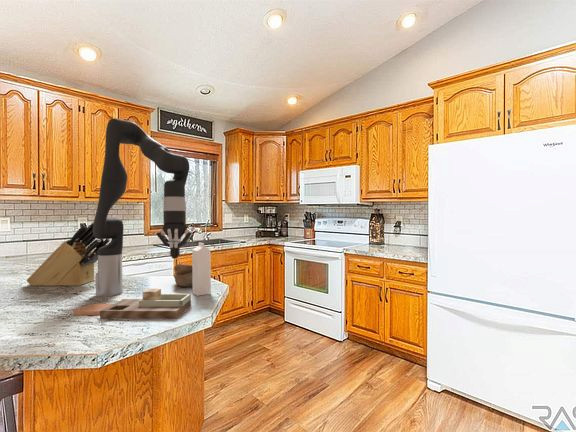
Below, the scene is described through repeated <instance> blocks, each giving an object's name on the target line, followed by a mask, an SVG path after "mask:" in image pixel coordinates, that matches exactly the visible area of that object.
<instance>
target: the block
mask: <svg viewBox="0 0 576 432" xmlns="http://www.w3.org/2000/svg"><path fill="white" fill-rule="evenodd" d="M161 294H162V289H161V288H148V289H145V290H144V291H142V299H143V300H161Z"/></svg>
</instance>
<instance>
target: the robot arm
mask: <svg viewBox="0 0 576 432" xmlns="http://www.w3.org/2000/svg"><path fill="white" fill-rule="evenodd" d="M105 130H106V131H105V147H104V160H103V167H102V172H101V173H102V174H101V177H100V185H99V186H100V187H99V196H98V202H97V203H98V204H97V208H96V212H95V216H94V220H93V222H94V224H93V235H94V237H95V238H96V239H95V240H97V239H98V240H100V239H103V240H106V239H110V241H109V242H108V243H107V244H106V245H105V246H103V247H101V248H99V249H98V260H97V272H95V296H98V297H110V296H111V297H112V296H116V295H117V296H118V295H122V293H123V290H124V289H123V247H124V243H123V242H124V221H123V220H122V218H121V217H108V215H109V213H110V210H112V208H113V206H114V205H115V204H116V203H117V202H118V201H119V200H120V199H121V198H122V197H123V195H124V194H125V192H126V189H127V184H128V183H127V182H128V173H127V170H126V169H125V166H124V164H123V162H122V160H121V157H120V146H121V145H120V144H122V145H134V146H136V147H139V149H140V151H141V154H143V156H144V157H146V158H147V159H149V160H150V161H151V162H153V163H154V164H155V166H156V167H157V168H158V170H160V171H162V172H163V173H166V174H173V177H172V179H170V180H166V181H164V184H163V204H162V205H163V226H162V229H161V230H160V231H158V232H156V236H157V237H158V239H159V240H160V242H162V244H163V245H164V246H165V247H169V250H170V251H169V253H170V257H171V259H179V257H180V254H181V253H180V251H181V249H180V248H181V247H183V246H185V245H186V244H187V242H188V241H189V240H190V239H191V237H192V236H193V235H194V233H193V231H190V230H189V229H188V227H187V224H186V223H187V204H186V203H187V202H186V183H187V181H188V180H187V179H188V175H189V171H190V163H189V162H190V161H189V160H188V158H187V157H186V156H184V155H181V154H177V153H172V152H170V149H168V148H167V146H165V145H163V144H161V143H160V142H159V141H156V140H154V139H153V138H152V137H151V136H149V135H148V134H147V133H146V132H145V130H144V129H143V128H141V126H139V125H138V124H137V123H136V122H133V121H131V120H125V119H121V118H114V117H113V118H111V119H109V120H108V122H107V125H106V129H105ZM183 236H184V237H183ZM167 237H168V238H167Z"/></svg>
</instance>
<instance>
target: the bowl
mask: <svg viewBox="0 0 576 432" xmlns="http://www.w3.org/2000/svg"><path fill="white" fill-rule="evenodd" d="M173 270H174V273H173V278H174V283H175V284H176V285H177V286H179V287H182V288H187V287H193V284H192V264H191V265H190V264H181V263H178V264H175V265H174V269H173Z"/></svg>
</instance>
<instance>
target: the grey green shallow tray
mask: <svg viewBox="0 0 576 432" xmlns="http://www.w3.org/2000/svg"><path fill="white" fill-rule="evenodd" d="M189 300H191V301H192V293H161V300H139V307H182V306H183V305H184V304H186V303H187V302H188V301H189Z"/></svg>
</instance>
